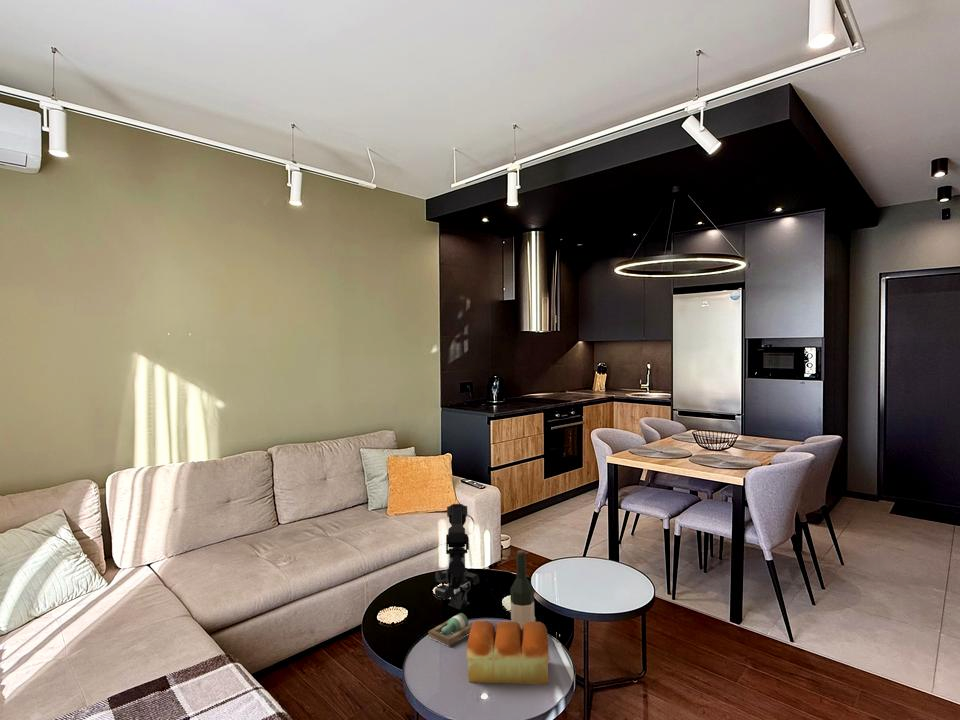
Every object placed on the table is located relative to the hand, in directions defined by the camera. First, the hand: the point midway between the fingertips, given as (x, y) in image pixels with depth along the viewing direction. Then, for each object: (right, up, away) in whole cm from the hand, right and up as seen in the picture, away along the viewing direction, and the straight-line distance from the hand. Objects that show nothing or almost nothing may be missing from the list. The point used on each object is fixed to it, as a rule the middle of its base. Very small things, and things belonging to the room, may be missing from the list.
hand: (458, 608), depth 192 cm
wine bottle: (+23, -8, -5) cm, 25 cm away
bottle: (+2, -5, +2) cm, 6 cm away
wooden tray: (-1, -8, -2) cm, 8 cm away
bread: (+17, -7, -27) cm, 33 cm away
